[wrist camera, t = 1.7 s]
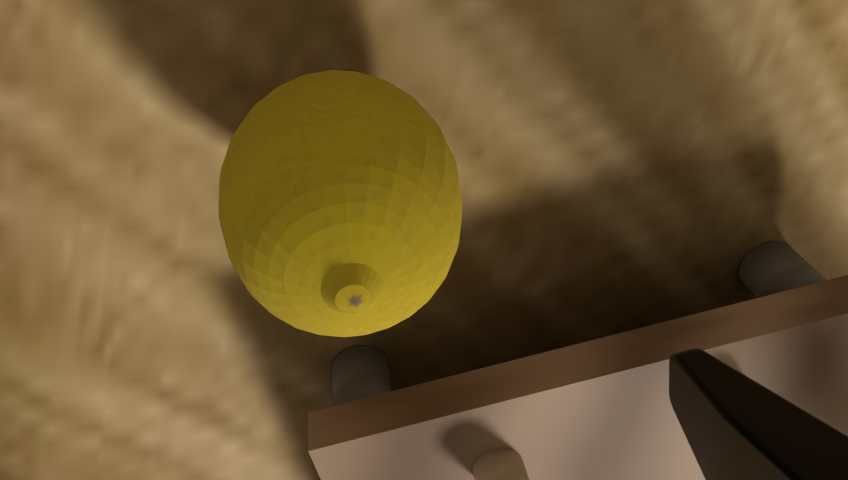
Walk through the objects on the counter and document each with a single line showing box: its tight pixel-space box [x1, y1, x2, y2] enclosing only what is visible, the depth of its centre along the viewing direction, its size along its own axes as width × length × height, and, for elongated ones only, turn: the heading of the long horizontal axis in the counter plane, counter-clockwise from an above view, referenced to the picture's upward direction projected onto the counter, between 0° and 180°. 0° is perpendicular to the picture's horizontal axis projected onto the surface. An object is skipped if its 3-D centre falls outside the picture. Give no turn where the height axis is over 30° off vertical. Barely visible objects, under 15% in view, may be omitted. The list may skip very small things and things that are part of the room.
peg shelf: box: [308, 241, 848, 480], centre depth 25 cm, size 18×13×6 cm
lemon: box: [219, 70, 463, 337], centre depth 16 cm, size 6×6×8 cm
